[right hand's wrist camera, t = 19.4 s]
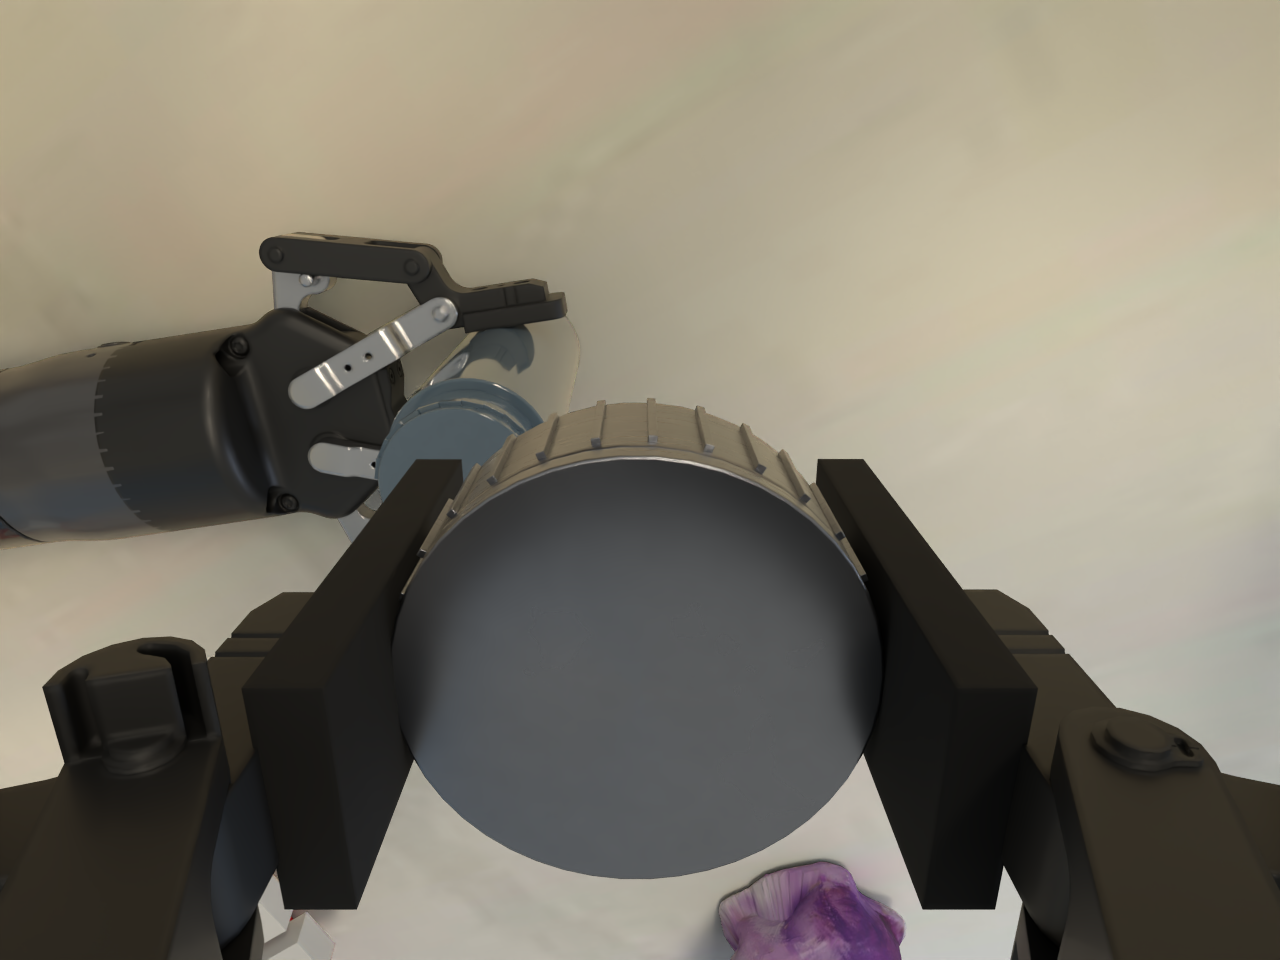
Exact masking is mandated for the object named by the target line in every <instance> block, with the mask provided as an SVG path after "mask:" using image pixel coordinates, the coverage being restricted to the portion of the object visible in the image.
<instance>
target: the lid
mask: <svg viewBox="0 0 1280 960" xmlns="http://www.w3.org/2000/svg"><path fill="white" fill-rule="evenodd" d="M417 556H418V557H420V559H419V561H418V563H417V565H416V566H415V568H414V570H413V572H412V574H411V575H410V577H409V579H408V581H407V582H406V584H405V586H404V588H403V590H402V591H401V593H400V597H399V600H400V601H401V604H400V607H399V609H398V612H397V615H396V618H395V623H394V628H393V633H392V638H391V655H392V665H393V673H394V682H395V690H396V699H397V707H398V715H399V723H400V729H401V732H402V735H403V737H404V739H405V742H406V744H407V746H408V748H409V751H410V753H411V755H412V756H413V758H414V760H415V761H416V763H417V765H418V766H419V768H420V770H421V771H422V773H423V774H424V776H425V778H426V779H427V780H428V781H429V783H430V784H431V785H432V786H433V787H434V789H435V790H436V791H437V792H438V794H439V795H440V796H441V797H442V799H443V800H445V801H446V802H447V803H448V804H449V805H450V806H451V807H452V808H453V809H454V810H455V811H456V812H457V813H458V814H459V815H460V816H461V817H462V818H463V819H465V820H466V821H467V822H469V823H470V824H471V825H473V826H474V827H475V828H477V829H478V830H479V831H481V832H482V833H483V834H485V835H486V836H488V837H490V838H492V839H493V840H495V841H497V842H498V843H500V844H502V845H504V846H505V847H507V848H509V849H511V850H513V851H515V852H517V853H520V854H522V855H524V856H526V857H529V858H531V859H533V860H535V861H538V862H541V863H544V864H547V865H550V866H554V867H557V868H560V869H563V870H567V871H572V872H577V873H581V874H586V875H591V876H599V877H609V878H618V879H655V878H665V877H675V876H683V875H687V874H692V873H697V872H702V871H707V870H711V869H714V868H717V867H720V866H724V865H727V864H730V863H733V862H736V861H738V860H741V859H743V858H745V857H748V856H750V855H752V854H755V853H757V852H759V851H761V850H763V849H765V848H767V847H769V846H770V845H772V844H774V843H776V842H777V841H779V840H781V839H783V838H784V837H786V836H788V835H789V834H790V833H792V832H793V831H794V830H796V829H797V828H798V827H800V826H801V825H802V824H804V823H805V822H807V821H808V820H809V819H810V818H811V817H812V816H814V815H815V814H816V813H817V812H818V811H819V810H820V809H821V808H822V807H823V806H824V805H825V804H826V803H827V802H828V801H829V800H830V799H831V798H832V797H833V796H834V794H835V793H836V792H837V791H838V790H839V788H840V787H841V786H842V785H843V784H844V782H845V781H846V780H847V779H848V777H849V775H850V774H851V772H852V771H853V769H854V767H855V766H856V764H857V763H858V761H859V759H860V758H861V756H862V754H863V752H864V750H865V747H866V745H867V743H868V741H869V738H870V736H871V734H872V732H873V729H874V725H875V722H876V718H877V715H878V711H879V707H880V704H881V697H882V689H883V681H884V650H883V642H882V637H881V632H880V626H879V621H878V620H879V619H878V617H877V614H876V612H875V609H874V606H873V603H872V600H871V597H870V595H869V592H868V590H867V588H866V586H865V584H864V582H866V581H868V577H867V575H866V573H865V571H864V569H863V567H862V565H861V564H860V562H859V560H858V558H857V556H856V555H855V553H854V551H853V549H852V548H851V546H850V544H849V542H848V540H847V539H846V537H845V535H844V533H843V531H842V529H841V527H840V526H839V524H838V522H837V520H836V519H835V517H834V515H833V513H832V511H831V510H830V508H829V506H828V504H827V502H826V501H825V499H824V497H823V495H822V493H821V492H820V490H819V488H818V487H817V485H816V484H815V483H812V484H811V485H808V483H807V482H806V480H805V479H804V478H803V476H802V475H801V474H800V473H799V472H798V471H797V470H796V468H795V466H794V464H793V463H792V461H791V459H790V457H789V455H788V453H787V452H786V451H784V450H783V449H782V450H781V451H780V452H779V453H778V452H777V451H776V450H774V449H773V448H772V447H770V446H769V445H768V444H767V443H765V442H764V441H763V440H761V439H760V438H758V437H756V436H754V435H753V434H752V432H751V429H750V427H749V426H748V425H746V424H744V423H742V425H741V427H739V426H737V425H735V424H732V423H730V422H728V421H725V420H723V419H720V418H718V417H715V416H713V415H710V414H707V413H706V412H705V409H704V407H700V406H696V409H695V410H692V409H688V408H684V407H679V406H672V405H664V404H657V403H656V401H655V399H654V398H647V403H618V404H610V405H606V402H605V400H602V401H597V406H594V407H590V408H586V409H582V410H578V411H574V412H570V413H567V414H564V415H561V416H558V413H557V412H555V413H552V414H550V415H549V418H548V421H546V422H544V423H541V424H539V425H537V426H535V427H534V428H532V429H530V430H528V431H527V432H525V433H523V434H521V435H519V436H518V437H516V436H515V435H514V434H511V435H510V436H508V437H507V439H506V441H505V443H504V445H503V447H502V448H501V449H500V450H498V451H497V452H496V453H494V454H493V455H492V456H491V457H490V458H489V459H488V460H487V461H486V462H485V463H484V464H483V465H482V466H480V465H479V464H478V463H476V464H475V465H474V466H473V467H472V469H471V470H470V472H469V474H468V476H467V478H466V479H465V481H464V483H463V485H462V486H461V488H460V490H459V492H458V494H457V495H456V497H455V499H454V500H452V499H450V498H449V499H448V501H447V503H446V504H445V506H444V508H443V510H442V511H441V513H440V515H439V517H438V518H437V520H436V522H435V524H434V525H433V527H432V529H431V530H430V532H429V534H428V536H427V537H426V539H425V541H424V543H423V544H422V546H421V548H420V550H419V551H418V553H417Z"/></svg>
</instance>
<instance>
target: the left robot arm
mask: <svg viewBox="0 0 1280 960" xmlns="http://www.w3.org/2000/svg"><path fill="white" fill-rule="evenodd" d="M259 255H260V259H261V261H262V263H263V264H264V265H265V266H266V267H267V268H268V269H270V270H271V271H272V278H273V295H274V310H272V311H270V312H268V313H267V314H265V315H264V316H263V317H262V318H261V319H260V320H258V321H257V322H256V323H253V324H249V325H243V326H237V327H230V328H224V329H217V330H211V331H204V332H198V333H191V334H185V335H178V336H172V337H165V338H159V339H152V340H146V341H139V342H133V343H130V342H114V343H107V344H102V345H101V346H99V347H97V348H94V349H88V350H81V351H76V352H70V353H65V354H60V355H57V356H53V357H50V358H46V359H43V360H40V361H37V362H34V363H31V364H27V365H24V366H19V367H14V368H7V369H1V370H0V550H4V549H11V548H18V547H25V546H31V545H38V544H45V543H52V542H60V541H96V540H114V539H123V538H130V537H137V536H144V535H151V534H158V533H164V532H171V531H178V530H185V529H192V528H199V527H206V526H213V525H219V524H226V523H233V522H240V521H247V520H254V519H261V518H268V517H275V516H280V515H285V514H290V513H295V512H308V513H314V514H317V515H320V516H323V517H326V518H333V519H336V518H337V519H338V521H339V522H340V524H341V526H342V528H343V529H344V531H345V533H346V534H347V536H348V538H349V540H350V541H351V543H353V541H354V540H355V539H356V537H357V536H358V535H359V533H360V532H361V531H362V529H363V528H364V527H365V526H366V524H367V523H368V522H369V520H370V519H371V518H372V516H373V515H374V514H375V512H376V511H375V510H372V509H370V508H368V507H367V506H366V505H365V504H364V502H365V501H366V500H367V499H368V498H369V496H370V495H371V494H372V493H373V492H374V491H375V490H376V489H377V488H378V487H379V486H378V479H374V477H375V466H376V458H377V456H378V454H379V451H380V449H381V446H382V444H383V442H384V439H385V438H386V437H387V436H388V434H389V431H390V428H391V425H392V423H393V421H394V419H395V417H396V415H397V414H398V412H399V411H400V409H401V408H402V407H403V405H404V404H405V403H406V402H407V400H406V398H405V396H404V373H403V369H402V365H401V361H400V357H402V356H404V355H405V354H407V353H408V352H410V351H411V350H413V349H415V348H416V347H418V346H420V345H422V344H423V343H425V342H427V341H429V340H430V339H432V338H434V337H436V336H437V335H439V334H441V333H443V332H444V331H446V330H448V329H453V328H460V327H464V329H465V333H471V332H477V331H484V330H489V329H496V328H503V327H510V326H517V325H523V324H530V323H536V322H543V321H549V320H555V319H559V318H563V317H565V316H566V313H567V311H568V310H567V305H566V299H565V294H564V292H557V293H550V294H549V291H548V286H547V282H545V281H541V280H537V279H527V280H520V281H514V282H508V283H501V284H494V285H488V286H481V287H475V288H466V287H462V286H460V285H458V284H457V283H455V282H454V281H453V279H452V278H451V277H450V275H449V273H448V272H447V270H446V268H445V267H444V265H443V264H442V262H443V260H442V255H441V253H440V252H439V250H438V249H437V248H436V247H434V246H433V245H430V244H423V243H412V242H401V241H390V240H379V239H368V238H357V237H347V236H336V235H325V234H314V233H303V232H296V233H291V234H284V235H279V236H276V237H271V238H268V239H266V240H264V241H263V243H262V244H261V246H260V249H259ZM337 277H338V278H349V279H360V280H371V281H382V282H394V283H405V284H407V285H408V286H409V288H410V289H411V291H412V293H413V294H414V296H415V297H416V299H417V300H418V302H419V304H420V305H418V306H416V307H415V308H413V309H411V310H410V311H408V312H406V313H404V314H402V315H400V316H399V317H397V318H395V319H394V320H392V321H390V322H388V323H387V324H385V325H383V326H381V327H380V328H378V329H376V330H375V331H373V332H371V333H369V334H368V335H366V334H364V333H362V332H360V331H358V330H356V329H354V328H352V327H349V326H347V325H345V324H343V323H341V322H339V321H337V320H335V319H333V318H331V317H329V316H327V315H325V314H323V313H321V312H318V311H316V310H314V309H312V308H310V307H308V300H309V298H310V297H311V295H312V294H320V293H322V292H324V291H327V290H329V289H331V288H332V287H333V286H334V285H335V283H336V281H337Z"/></svg>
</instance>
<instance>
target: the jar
mask: <svg viewBox="0 0 1280 960" xmlns="http://www.w3.org/2000/svg"><path fill="white" fill-rule="evenodd" d="M579 359H580V346H579V340H578V337H577V334H576V331H575V329H574V327H573V325H572V324H571V322H570V321H569V320H568V318H567V317H566V316H565V317H563V318H559V319H555V320H549V321H543V322H536V323H530V324H523V325H517V326H510V327H503V328H496V329H489V330H484V331H477V332H471V333H469V334H468V335H467V336H466V337H465V338H464V340H463V341H462V342H461V343H460V344H459V345H458V346H457V347H456V348H455V349H454V351H453V352H452V353H451V354H450V355H449V356H448V357H447V358H446V359H445V360H444V361H443V363H442V364H441V365H440V366H439V367H438V368H437V369H436V370H435V371H434V372H433V374H432V375H431V376H430V377H429V378H428V379H427V380H426V381H425V382H424V383H423V384H422V386H421V387H420V388H419V389H418V390H417V391H416V392H415V393H414V394H413V395H412V397H411V398H410V399H409V400H408V401H407V402H406V403H405V404H404V405H403V407H402V408H401V409H400V411H399V412H398V414H397V415H396V417H395V419H394V421H393V423H392V425H391V428H390V431H389V434H388V436H387V437H386V438H385V439H384V442H383V444H382V446H381V449H380V451H379V454H378V456H377V458H376V466H375V477H374V479H378V486H379V492H380V496H381V500H382V502H384V501H385V499H386V498H387V497H388V495H389V494H390V493H391V492H392V490H393V489H394V488H395V486H396V485H397V484H398V482H399V481H400V480H401V478H402V477H403V476H404V474H405V473H406V472H407V471H408V469H409V468H410V467H411V465H412V464H413V463H414V461H415V460H416V459H462V470H463V483H464V481H465V479H466V478H467V476H468V474H469V472H470V470H471V469H472V467H473V466H474V465H475V464H476V463H478V464H479V465H480V466H482V465H483V464H484V463H485V462H486V461H487V460H488V459H489V458H490V457H491V456H492V455H493V454H494V453H496V452H497V451H498V450H500V449H501V448H502V447H503V445H504V443H505V441H506V439H507V437H508V436H510V435H511V434H514V435H515V436H516V437H518V436H519V435H521V434H523V433H525V432H527V431H528V430H530V429H532V428H534V427H535V426H537V425H539V424H541V423H544V422H546V421H548V418H549V415H550V414H552V413H555V412H557V413H558V416H561V415H564V414H567V413H568V411H569V406H570V401H571V397H572V392H573V388H574V383H575V379H576V374H577V369H578V365H579Z"/></svg>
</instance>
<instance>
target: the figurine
mask: <svg viewBox="0 0 1280 960" xmlns="http://www.w3.org/2000/svg"><path fill="white" fill-rule="evenodd" d="M719 916H720V919H721V922H722V924H721V925H722V928H723V932H724V936H725V937H726V940H727V941H728V942H729V944H730V945H731V947H732V948H733V950H734V951H735V953H734V955H733V956H732V958H731V959H730V960H901V954H900V949H899V946H900V944H901V942H902V940H903V939H904V937H905V934H906V924H905V921H904V919H903V918H902V917H901V916H900V915H899V914H898V913H897V912H896V911H894V910H893V909H891V908H889V907H887V906H885V905H884V904H882V903H880V902H877V901H875V900H872V899H870V898H868V897H866V896H864V895H863V894H861V893H860V892H859V891H858V890H857V888H856V884H855V882H854V880H853V877H852V875H851V874H850V873H849V872H848V870H846V869H845V868H843V867H842V866H838V865H835V864H831V863H829V862H817V863H813V864H809V865H803V866H797V867H792V868H787V869H783V870H780V871H776V872H773V873H771V874H765V875H764V876H763V877H762V878H761V879H759V880H758V881H756V882H755V883H754V884H752V885H751V886H750V887H749V888H747V889H745V890H743V891H742V892H738V893H736V894H735V895H731V896H730V897H728V898H727V899H725V900H723V901H722V902H721V903H720V908H719Z"/></svg>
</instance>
